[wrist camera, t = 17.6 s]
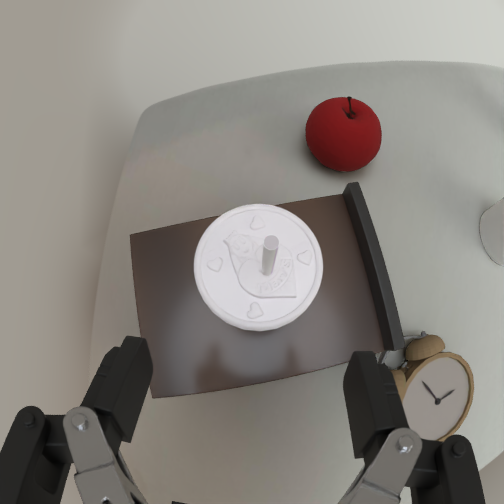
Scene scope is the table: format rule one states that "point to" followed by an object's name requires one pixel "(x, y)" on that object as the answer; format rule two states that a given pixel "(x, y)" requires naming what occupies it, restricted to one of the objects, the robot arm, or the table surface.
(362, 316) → the shelf
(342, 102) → the apple
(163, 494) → the table surface
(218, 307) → the smoothie
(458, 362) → the alarm clock
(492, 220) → the cylinder with rectangular tab
